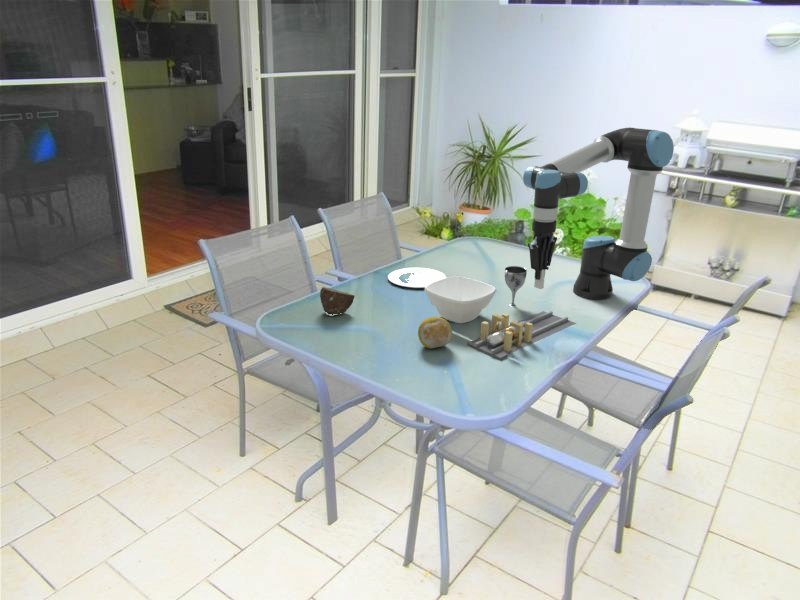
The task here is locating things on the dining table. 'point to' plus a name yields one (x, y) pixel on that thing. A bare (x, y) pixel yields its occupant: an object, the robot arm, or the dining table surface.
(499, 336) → the tube
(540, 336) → the guide plate
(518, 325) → the aperture bridge
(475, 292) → the bowl
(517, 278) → the wine glass
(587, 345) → the dining table surface
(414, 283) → the plate
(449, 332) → the fruit
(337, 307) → the brown coconut half
